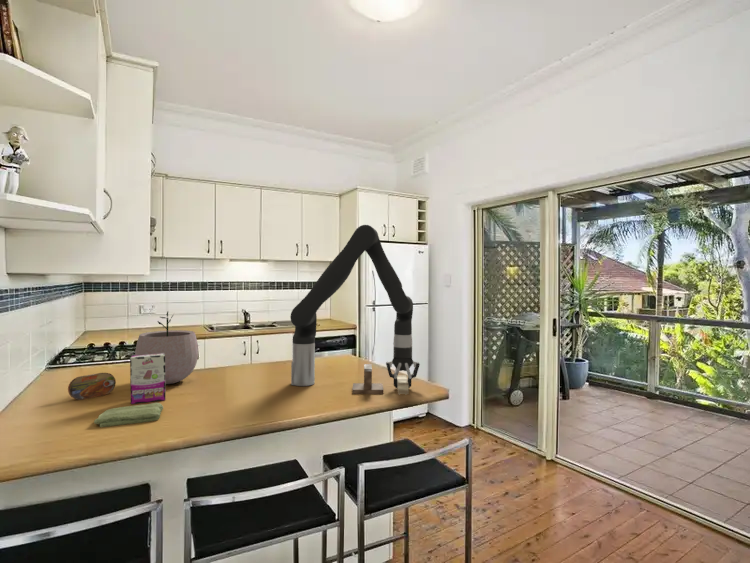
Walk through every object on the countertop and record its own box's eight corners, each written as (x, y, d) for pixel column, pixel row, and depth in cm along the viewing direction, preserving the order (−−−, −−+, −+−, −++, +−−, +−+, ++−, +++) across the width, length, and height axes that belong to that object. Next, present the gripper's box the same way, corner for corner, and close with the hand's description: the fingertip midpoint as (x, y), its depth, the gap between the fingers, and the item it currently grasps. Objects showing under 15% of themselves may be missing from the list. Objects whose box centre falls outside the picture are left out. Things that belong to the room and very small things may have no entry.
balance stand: (352, 393, 166) (352, 369, 166) (353, 386, 176) (353, 363, 176) (383, 393, 166) (383, 369, 166) (382, 387, 176) (382, 363, 176)
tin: (70, 402, 152) (70, 378, 152) (66, 400, 154) (66, 377, 154) (116, 393, 164) (116, 371, 164) (112, 391, 166) (112, 370, 166)
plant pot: (127, 382, 181) (127, 310, 180) (186, 373, 197) (186, 308, 197) (145, 393, 163) (145, 314, 163) (207, 383, 180) (207, 311, 180)
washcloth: (102, 416, 138) (102, 406, 138) (163, 410, 145) (163, 401, 145) (92, 429, 126) (92, 418, 126) (159, 422, 133) (159, 412, 133)
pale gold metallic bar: (408, 395, 165) (408, 385, 165) (398, 395, 165) (398, 384, 165) (406, 384, 181) (406, 375, 181) (396, 384, 181) (397, 375, 181)
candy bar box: (165, 397, 159) (165, 352, 159) (165, 400, 155) (165, 355, 154) (130, 400, 154) (130, 355, 154) (129, 404, 149) (130, 357, 149)
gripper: (385, 346, 169) (385, 390, 169) (421, 347, 169) (421, 390, 170) (384, 343, 177) (384, 385, 177) (419, 344, 177) (419, 385, 177)
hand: (402, 387), depth 173 cm, fingers open, 4 cm apart
